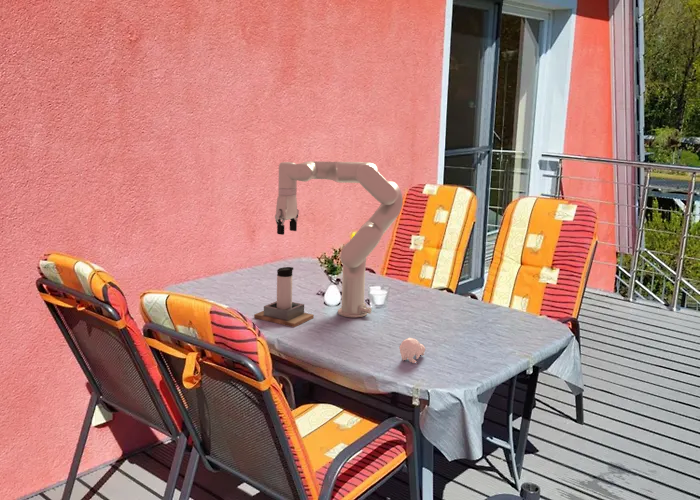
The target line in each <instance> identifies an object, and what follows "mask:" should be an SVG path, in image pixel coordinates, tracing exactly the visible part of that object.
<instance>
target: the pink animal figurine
mask: <svg viewBox="0 0 700 500" xmlns="http://www.w3.org/2000/svg"><path fill="white" fill-rule="evenodd" d="M425 352H426V346H424V344H422V343H420V341H419V340H417V339H416V338H413V337H408V338H406V339H404V340H403V341H402V342H401V344H400V346H399V353H400V357H401V360H402V361H404V360H406V361H407V360H408V361H409V362H410V363H411V362H412V363H411V364H414V363H415V362H417V363H418V361H416V360H419V358H420V357H421V356H420V355H422V356H424V355H426V353H425ZM414 357H415V358H416V359H415V358H414Z"/></svg>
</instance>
